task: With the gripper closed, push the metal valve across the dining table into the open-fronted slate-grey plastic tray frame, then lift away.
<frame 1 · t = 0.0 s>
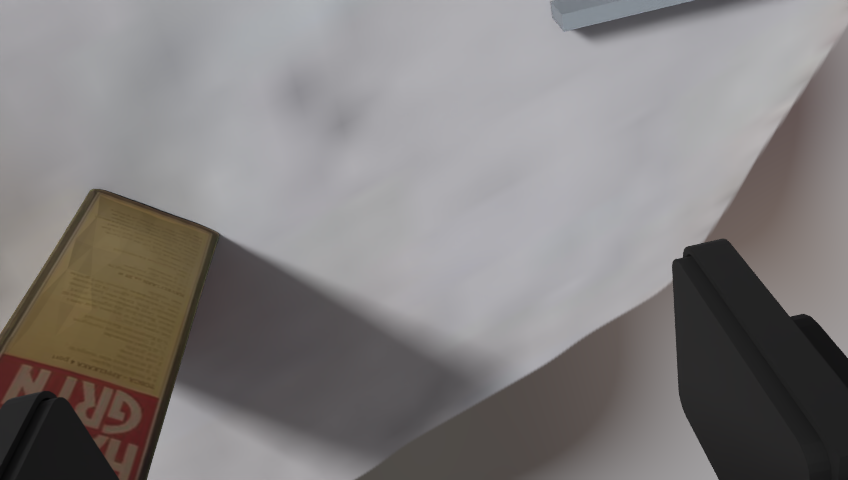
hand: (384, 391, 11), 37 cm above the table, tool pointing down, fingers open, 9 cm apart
food packaging: (131, 281, 53), on the table
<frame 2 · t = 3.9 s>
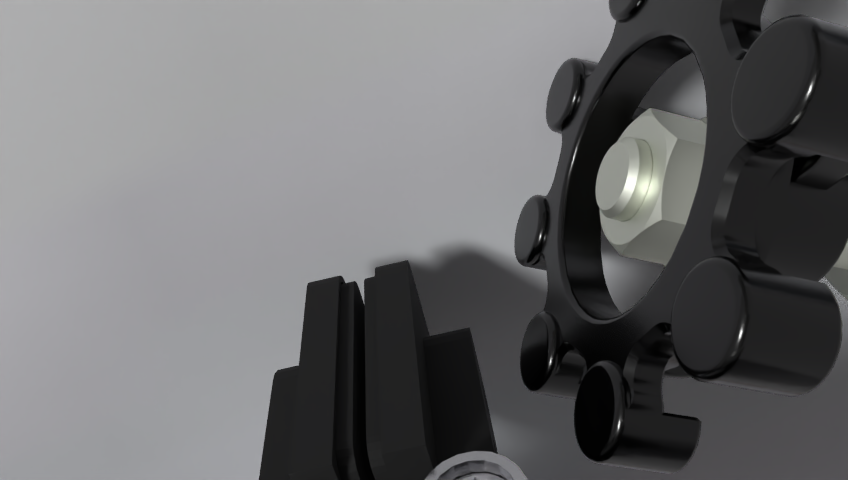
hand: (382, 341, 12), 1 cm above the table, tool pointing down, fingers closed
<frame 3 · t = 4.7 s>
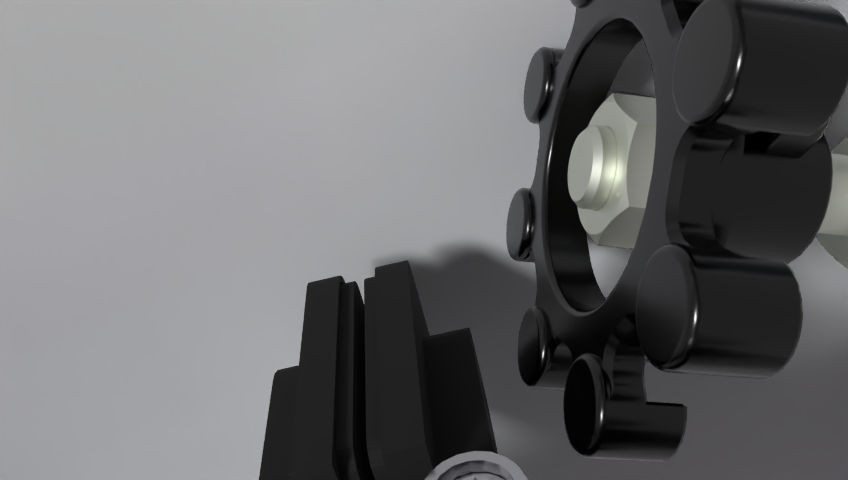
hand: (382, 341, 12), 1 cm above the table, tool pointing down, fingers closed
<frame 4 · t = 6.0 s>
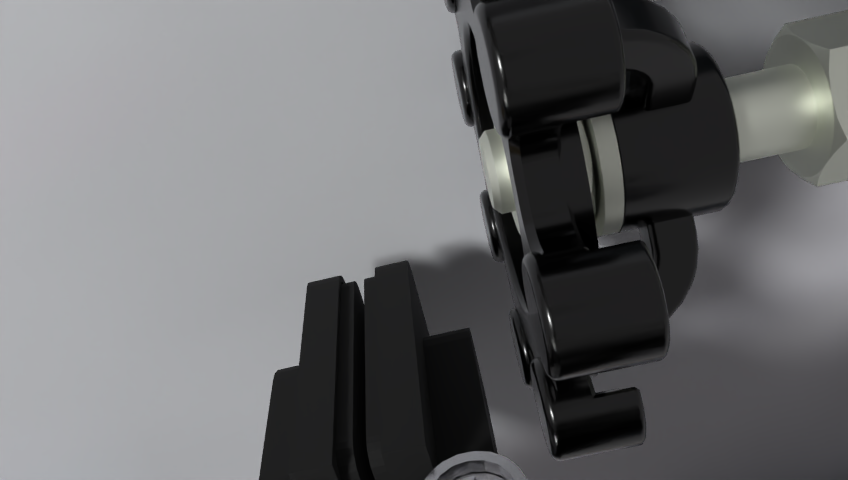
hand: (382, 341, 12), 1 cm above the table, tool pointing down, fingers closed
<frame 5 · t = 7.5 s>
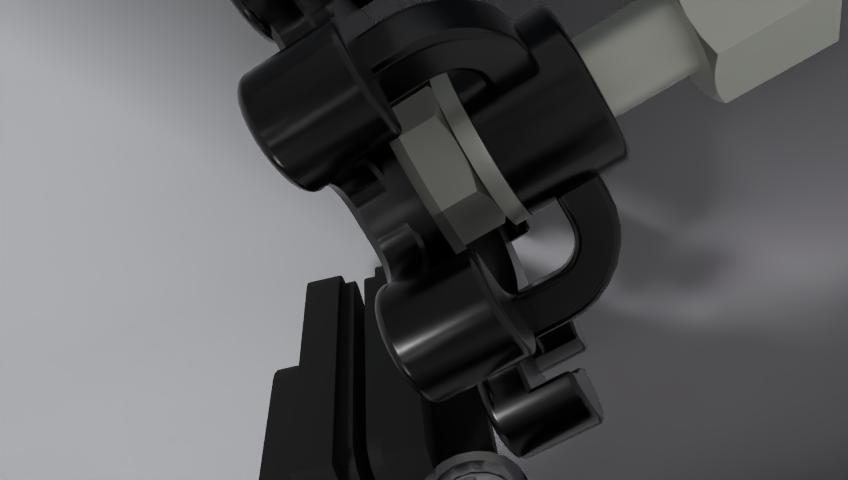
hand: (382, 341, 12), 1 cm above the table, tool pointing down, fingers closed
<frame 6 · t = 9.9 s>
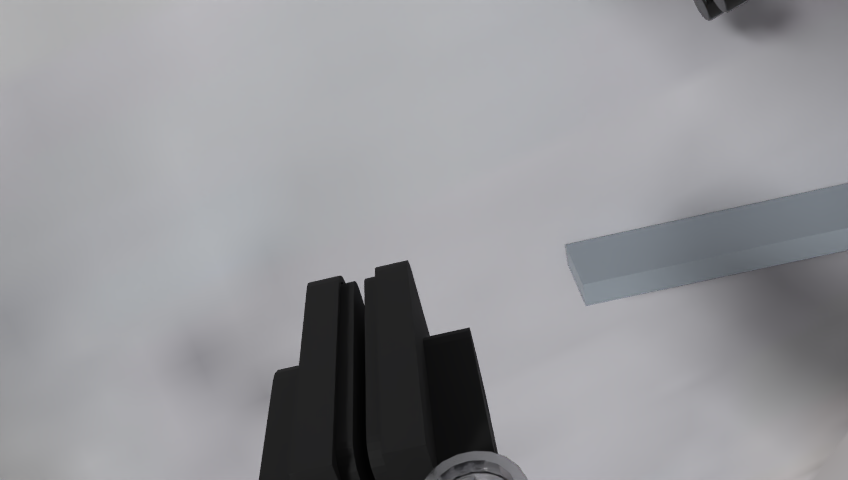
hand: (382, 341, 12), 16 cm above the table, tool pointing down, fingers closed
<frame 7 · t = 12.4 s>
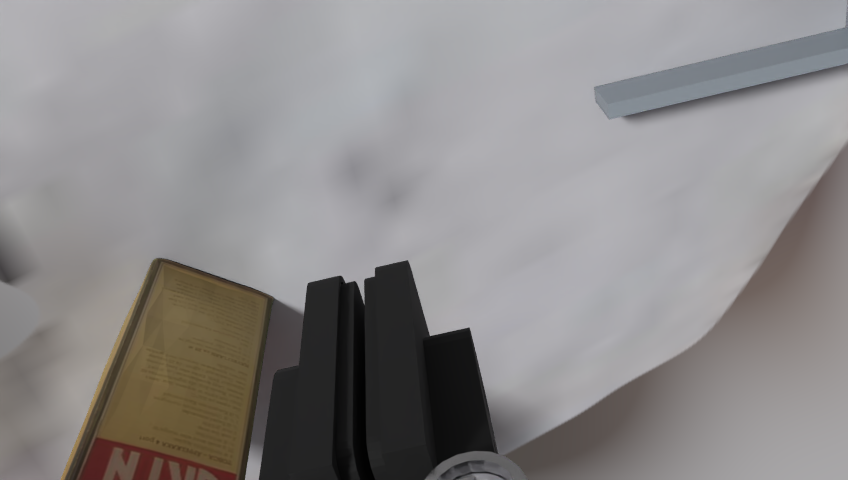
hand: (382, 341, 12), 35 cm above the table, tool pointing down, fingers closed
food packaging: (188, 341, 56), on the table
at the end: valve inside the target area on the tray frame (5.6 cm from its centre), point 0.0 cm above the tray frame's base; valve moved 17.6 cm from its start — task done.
